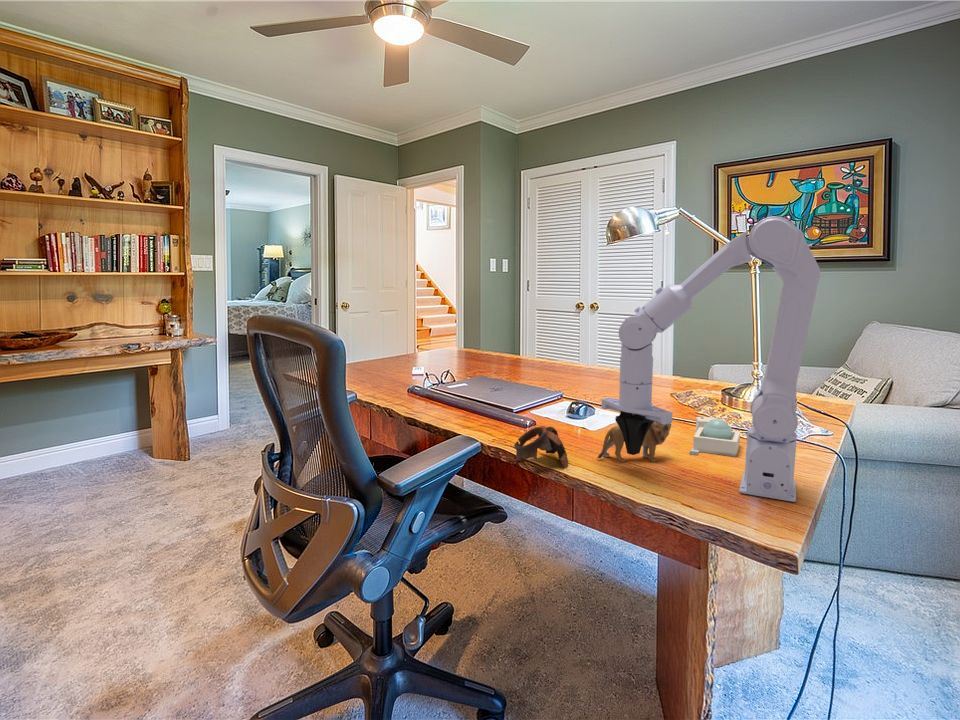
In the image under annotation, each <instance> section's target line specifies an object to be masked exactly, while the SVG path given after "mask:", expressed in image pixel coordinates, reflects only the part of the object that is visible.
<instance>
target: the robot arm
mask: <svg viewBox="0 0 960 720" xmlns="http://www.w3.org/2000/svg"><path fill="white" fill-rule="evenodd" d="M748 232H749V229H747V230H745V231H743V232H742V233H740V234H738V236H735V238H733V239H732V240H730V241H728V242H727V243H725V244H724V245H723V246H722V247H721V248H720V249H718V250H717V251H716V252H715V253H714V254H713V255H712V256H711V257H710V258H708V259H707V260H706V261H705V262H704V263H703V264H701V266H700V267H698V268H697V269H696V270H695V271H694V272H693V273H692V274H691V275H689V277H687V278H686V279H685V280H683V282H682V283H680V284H667V285H666V286H664V287H663V286H660V287H658V289H656V290H655V291H654V292H655V295H654V296H653V297H652V298H651V299H650V300H649V301H647V302H646V303H645V304H644V305H643V306H641V307H640V306H638V307H637V308H635V309H634V312H635V314H636V315H632V316H628V317H626V318H625V319H624V321H623V322H622V323H621V324H620V325H619V326H620V327H619V329H618V338H619V340H620V342H621V348H620V351H621V352H620V353H621V354H620V358H619V359H620V360H619V361H620V362H619V363H620V364H619V366H620V367H619V393H618V394H619V398H612V397H603V398H601V404H600V405H601V409H603V410H611V411H615V412H619V415H616V416H615V418H614V419H615V422H616V423H617V426H619V427H620V430H621V432H622V434H623V438H624V441H625V442H624V445H625V451H626V453H627V454H628V455H631V456H635V455H638V454H640V453H641V449H642V448H643V446H642V443H643V440H644V438H645V435H646V433H647V431H648V430H649V428H650V426H651V425H652V423H653V422H654V421H658V422H660V423H661V424H669V423H671V424H672V423H673V412H672V411H669V410H666V409H663V408H660V407H658V406H657V405H656V406H655V405H653V404H654V403H653V402H652V400H653V398H652V397H653V373H654V356H653V345H654V343H652V342H653V341H655V339H656V336H657V334H658V333H664V332H665V331H666V330H667V329H668V328H670V327H671V326H672V325H674V323H676V322H677V321H678V320H680V319H681V318H682V317H683V316H685V315H686V314H687V313H688V312H690V311H691V310H692V306H693V298H694V297H695V296H697V294H699V293H701V292H702V291H703V290H704V289H706V288H707V287H708V286H709V285H711V284H712V283H713V282H714V281H716V280H717V279H718V278H720V277H721V276H722V275H724V274H725V273H726V272H727V271H729V270H730V269H732V268H733V267H736V266H739V265H744V264H747V263H751V262H752V261H753V259H752V256H753V257H754V258H756V259H758V260H759V261H760V262H763V263H764V264H766V265H768V266H770V267H771V269H772V270H773V271H774V272H775V273H776V275H778V277H779V278H780V280H782V288H781V293H780V296H779V297H780V298H779V303H778V308H777V312H776V318H775V322H774V327H773V332H772V336H771V342H770V346H769V351H768V357H767V361H766V367H765V372H764V376H763V379H762V382H761V385H760V389H759V392H758V393H757V395H756V396H755V397H754V398H753V400H752V401H751V404H750V413H751V416H752V418H751V419H752V420H751V422H752V426H751V427H749V428H748V429H747V431H746V448H745V450H746V451H745V463H744V472H743V473H742V476H741V480H740V481H741V482H740V485H739V489H738V490H739V493H740V494H745V495H751V496H756V497H757V496H758V497H763V498H770V499H773V500H774V499H775V500H780V501H786V502H791V503H792V502H793V503H795V502H797V486H796V485H797V483H796V480H795V466H796V455H797V454H796V453H797V440H798V435H797V432H796V431H797V428H798V426H799V420H798V416H797V413H796V409H795V406H796V401H797V383H798V378H799V374H800V369H801V364H802V360H803V355H804V350H805V346H806V341H807V337H808V331H809V327H810V322H811V318H812V313H813V310H814V309H813V308H814V304H815V300H816V299H815V298H816V294H817V291H818V286H819V280H820V277H821V276H820V275H821V269H820V266H819V264H818V262H817V260H816V258H815V256H814V254H813V253H812V251H811V248H810V247H809V245H808V243H807V241H806V238H805V235H804V232H803V231H802V230H801V229H800V228H798V227H797V226H796V225H795V224H793V222H792V221H790V220H789V219H787V218H785V217H782V216H778V215H777V216H776V215H775V216H774V215H773V216H767V217H765V218H763V219H760V221H758V222H756V223H755V224H754V225H753V227H752V228H751V230H750V233H749V234H748ZM747 235H748V236H747Z"/></svg>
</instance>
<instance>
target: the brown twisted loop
mask: <svg viewBox="0 0 960 720" xmlns="http://www.w3.org/2000/svg"><path fill="white" fill-rule="evenodd" d="M537 435H538V437H537ZM535 437H537V438H536V439H535V440H533V441H531V442H530V443H527V442H528V441H530V440H532V439H534V438H535ZM517 439H518V440H517V441H516V442H515V443H514V445H513V446H514V449H515V450H516V451H515V452H516V455H515V456H516V458H515V459H516V460H518V461H519V462H522V461H523V460H528V459H530V458H531V459H532V458H533V459H534V460H538V449H539V450H540V451H545V454H553V455H554V454H555V453H556V454H557V457H558V460H560V462H561V464H562V468H563V469H567V467H568V466H569V463H570V462H569V459H568V454H567V451H566V448H565V445H564V443H563V442H562V440H561V438H560V436H559V434H558V431H557V430H556V428H555V427H553V426H547V427H545V426H537V427H534V428H531V429H529V430H528V431H526V432H525V433H523V434H522V435H521V436H519V438H517ZM526 443H527V444H526Z"/></svg>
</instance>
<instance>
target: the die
mask: <svg viewBox="0 0 960 720" xmlns="http://www.w3.org/2000/svg"><path fill="white" fill-rule="evenodd" d="M713 419H717V418H716V417H709V416H696V417H695V420H696V421H695V433H696V432H697V430H698V429H699V427H704V424H707V423H708V422H709V421H711V420H713Z"/></svg>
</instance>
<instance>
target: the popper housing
mask: <svg viewBox="0 0 960 720" xmlns="http://www.w3.org/2000/svg"><path fill="white" fill-rule="evenodd" d="M703 435H704V427H699V429H698V430H697V432H696V431H695V434H694V435H693V438H692V439H693V441H692V442H693V443H692V448H693V449H694V450H699V453H706V454H712V455H713V454H714V455H722V456H728V457H737V455H738V451H739V449H740V446H741V431H738V430H736V431H735V430H731V440H726V439H718V438H710V437H703Z"/></svg>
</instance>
